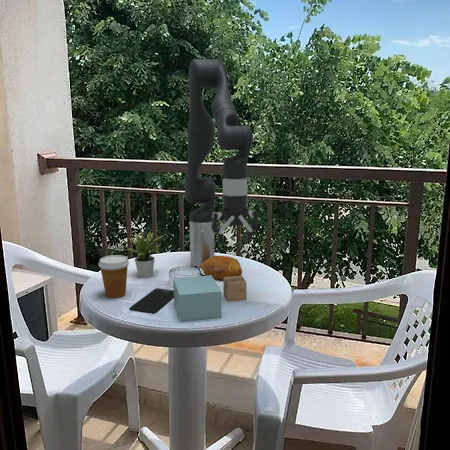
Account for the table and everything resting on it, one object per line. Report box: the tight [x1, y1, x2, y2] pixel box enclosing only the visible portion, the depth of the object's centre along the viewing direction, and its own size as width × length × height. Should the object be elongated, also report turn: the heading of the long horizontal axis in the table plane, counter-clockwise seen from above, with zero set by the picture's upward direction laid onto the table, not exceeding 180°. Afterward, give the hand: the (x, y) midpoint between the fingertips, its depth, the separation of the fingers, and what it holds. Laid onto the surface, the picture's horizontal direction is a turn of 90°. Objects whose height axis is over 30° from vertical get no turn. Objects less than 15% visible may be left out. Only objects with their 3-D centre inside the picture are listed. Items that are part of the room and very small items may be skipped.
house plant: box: [126, 231, 165, 279], centre depth 179 cm, size 14×14×16 cm
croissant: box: [199, 255, 243, 281], centre depth 182 cm, size 14×16×8 cm
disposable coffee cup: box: [98, 254, 130, 299], centre depth 163 cm, size 10×10×12 cm
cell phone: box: [128, 287, 174, 315], centre depth 159 cm, size 9×18×1 cm, turn 160°
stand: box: [172, 275, 222, 322], centre depth 152 cm, size 14×12×8 cm
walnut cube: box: [223, 275, 247, 303], centre depth 161 cm, size 6×6×6 cm
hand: (234, 244), depth 158 cm, fingers open, 8 cm apart
